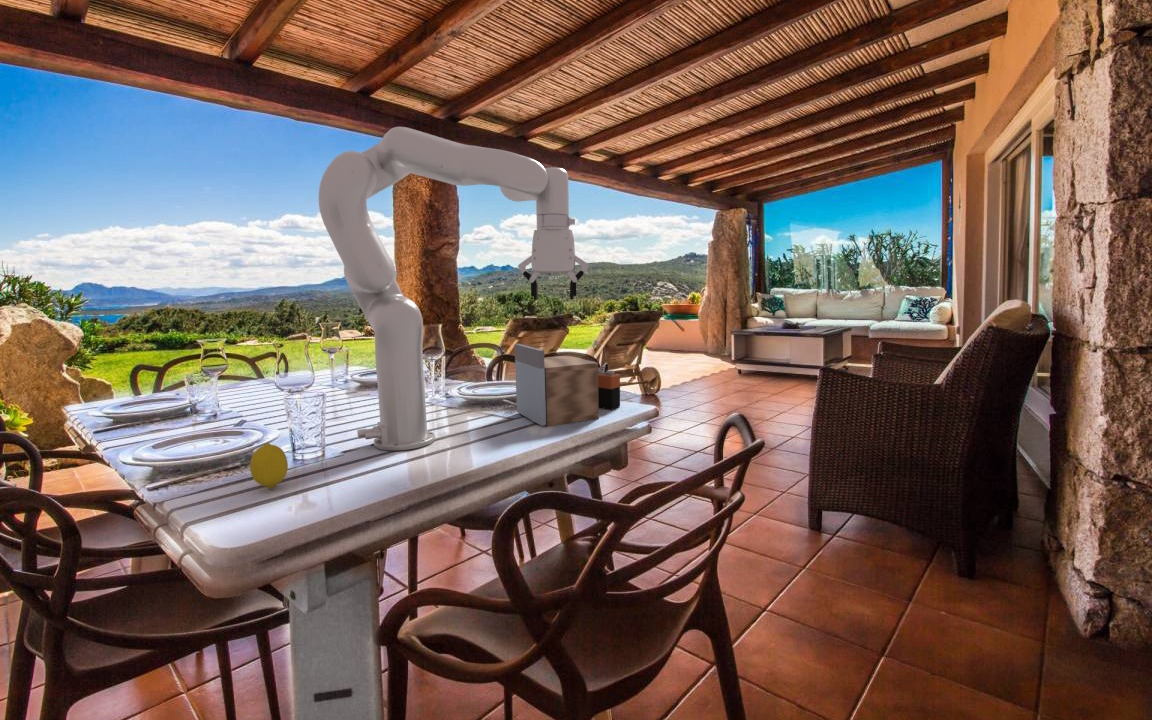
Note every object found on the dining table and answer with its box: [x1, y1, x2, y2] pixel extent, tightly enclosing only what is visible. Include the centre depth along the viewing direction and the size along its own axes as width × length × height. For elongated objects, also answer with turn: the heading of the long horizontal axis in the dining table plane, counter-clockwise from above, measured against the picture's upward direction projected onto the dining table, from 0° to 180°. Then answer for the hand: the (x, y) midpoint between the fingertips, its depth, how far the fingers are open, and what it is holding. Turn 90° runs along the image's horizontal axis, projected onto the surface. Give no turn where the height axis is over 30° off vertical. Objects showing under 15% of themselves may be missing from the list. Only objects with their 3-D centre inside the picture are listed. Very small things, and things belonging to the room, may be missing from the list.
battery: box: [598, 369, 621, 410], centre depth 148 cm, size 4×7×10 cm, turn 51°
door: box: [514, 343, 546, 426], centre depth 135 cm, size 1×16×18 cm, turn 27°
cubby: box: [544, 355, 600, 427], centre depth 139 cm, size 14×16×14 cm
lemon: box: [249, 442, 289, 490], centre depth 93 cm, size 6×6×8 cm
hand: (553, 299), depth 131 cm, fingers open, 8 cm apart
